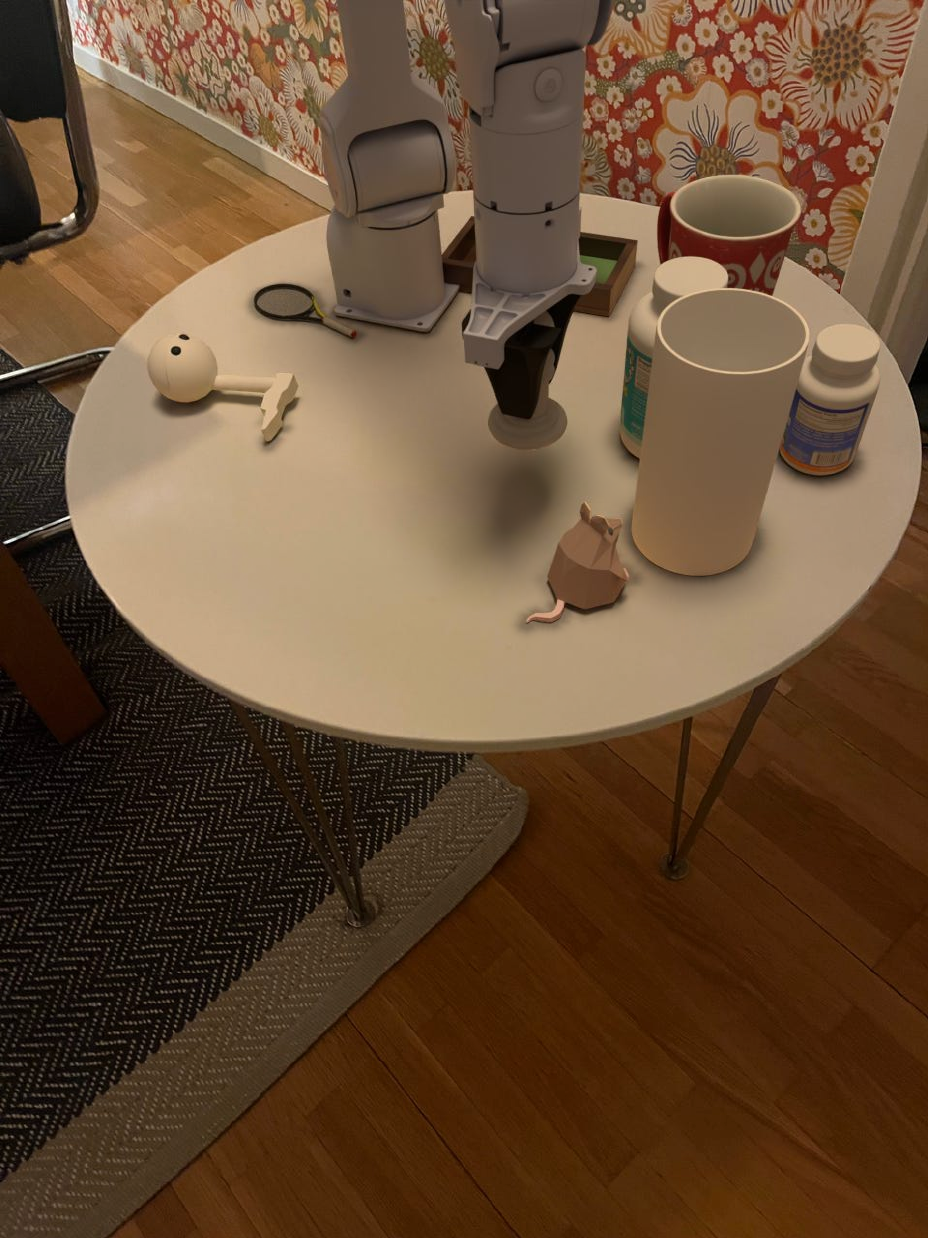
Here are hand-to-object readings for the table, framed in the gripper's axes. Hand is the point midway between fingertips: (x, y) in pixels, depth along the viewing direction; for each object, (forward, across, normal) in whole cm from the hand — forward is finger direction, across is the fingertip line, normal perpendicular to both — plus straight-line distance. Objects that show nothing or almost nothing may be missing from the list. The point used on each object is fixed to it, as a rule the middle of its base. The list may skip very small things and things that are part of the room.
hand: (527, 396), depth 58 cm
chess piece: (+3, 0, 0) cm, 3 cm away
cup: (+9, 0, -12) cm, 15 cm away
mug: (+9, +20, -8) cm, 23 cm away
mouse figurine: (+9, -8, -6) cm, 13 cm away
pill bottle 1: (+9, +9, -8) cm, 15 cm away
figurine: (+6, 0, +33) cm, 34 cm away
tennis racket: (+8, +13, +28) cm, 32 cm away
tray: (+9, +27, +9) cm, 30 cm away
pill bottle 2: (+9, +11, -19) cm, 23 cm away
